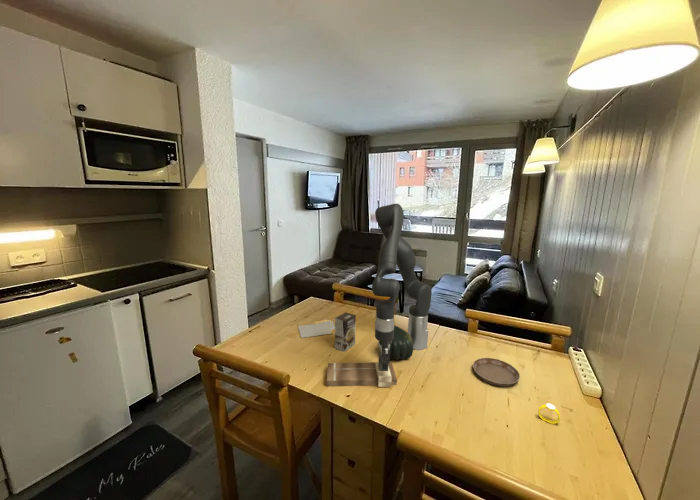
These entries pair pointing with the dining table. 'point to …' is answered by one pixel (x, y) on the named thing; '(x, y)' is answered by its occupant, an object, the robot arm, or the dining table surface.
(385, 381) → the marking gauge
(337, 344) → the coffee box
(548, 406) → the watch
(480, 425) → the dining table surface
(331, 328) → the paper stack
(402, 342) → the squash
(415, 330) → the robot arm
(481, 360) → the plant saucer
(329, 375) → the walnut board
